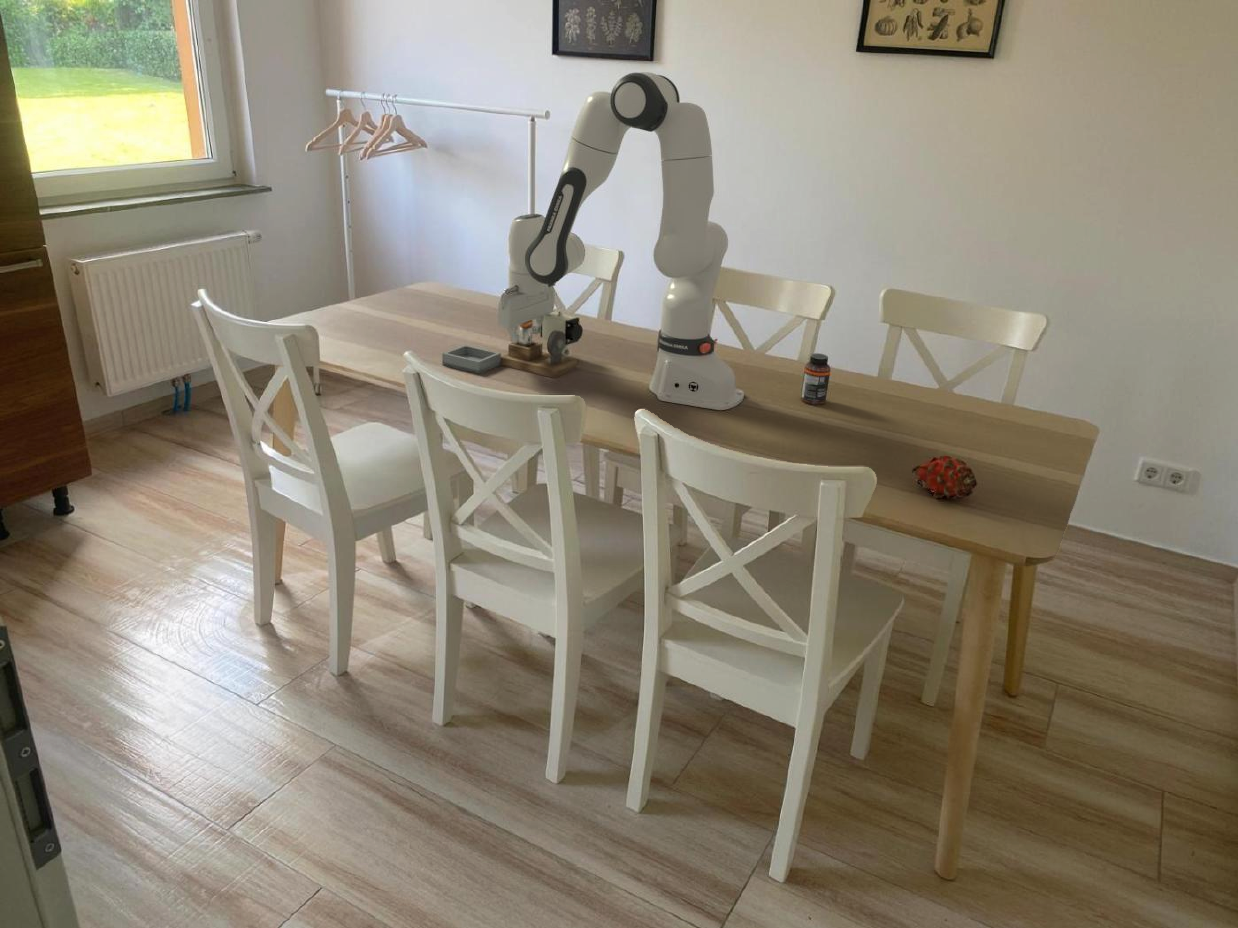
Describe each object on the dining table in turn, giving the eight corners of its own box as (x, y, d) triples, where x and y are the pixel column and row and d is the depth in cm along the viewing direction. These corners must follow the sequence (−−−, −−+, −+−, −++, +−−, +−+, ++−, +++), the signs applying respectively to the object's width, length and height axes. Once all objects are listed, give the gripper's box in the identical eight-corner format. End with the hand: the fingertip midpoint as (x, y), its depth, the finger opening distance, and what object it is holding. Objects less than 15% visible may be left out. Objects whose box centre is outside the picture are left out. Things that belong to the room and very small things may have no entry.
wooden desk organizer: (576, 367, 226) (577, 329, 222) (555, 378, 218) (556, 338, 214) (523, 355, 233) (523, 317, 229) (500, 364, 225) (500, 325, 221)
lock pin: (534, 355, 227) (535, 320, 223) (527, 358, 224) (527, 323, 221) (523, 352, 228) (524, 318, 225) (516, 355, 226) (516, 320, 222)
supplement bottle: (809, 395, 218) (816, 350, 213) (830, 402, 214) (837, 356, 210) (794, 400, 214) (801, 354, 209) (815, 407, 210) (823, 361, 206)
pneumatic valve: (570, 364, 228) (572, 318, 223) (535, 353, 235) (536, 308, 230) (584, 359, 233) (586, 314, 228) (549, 349, 239) (551, 304, 234)
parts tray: (500, 364, 225) (500, 353, 224) (478, 374, 217) (478, 362, 216) (465, 356, 229) (464, 344, 228) (442, 365, 222) (442, 353, 221)
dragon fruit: (974, 515, 168) (909, 503, 174) (986, 477, 171) (922, 468, 178) (969, 489, 161) (902, 479, 168) (981, 451, 165) (916, 442, 172)
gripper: (513, 292, 209) (512, 350, 215) (559, 277, 226) (558, 331, 231) (490, 288, 212) (490, 345, 217) (538, 273, 228) (537, 326, 234)
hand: (525, 337), depth 224 cm, fingers open, 8 cm apart
